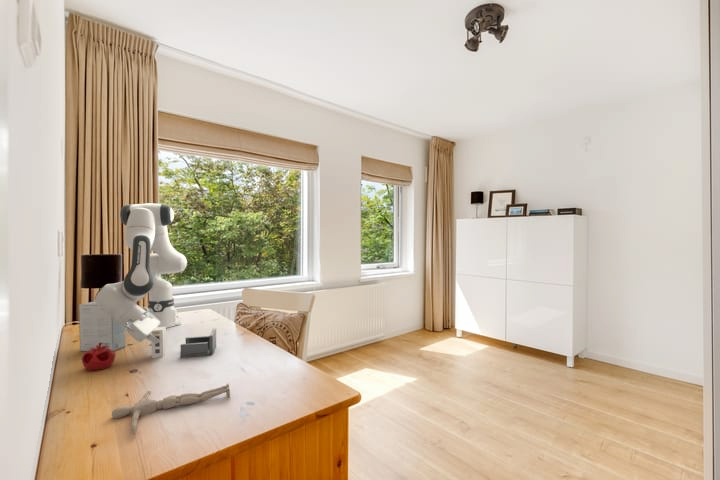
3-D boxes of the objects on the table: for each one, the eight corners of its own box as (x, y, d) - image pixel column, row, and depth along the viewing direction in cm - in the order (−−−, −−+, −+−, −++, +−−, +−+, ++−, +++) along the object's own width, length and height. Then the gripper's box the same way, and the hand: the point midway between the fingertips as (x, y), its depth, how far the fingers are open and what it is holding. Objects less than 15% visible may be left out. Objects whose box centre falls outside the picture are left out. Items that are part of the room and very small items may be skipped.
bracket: (186, 348, 151) (186, 330, 151) (216, 346, 154) (216, 328, 154) (180, 357, 140) (180, 337, 140) (212, 354, 143) (212, 335, 143)
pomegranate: (90, 364, 134) (89, 340, 134) (120, 361, 137) (119, 337, 137) (76, 374, 125) (75, 348, 125) (108, 370, 127) (108, 345, 127)
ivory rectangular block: (155, 353, 145) (155, 327, 145) (166, 352, 146) (166, 326, 146) (151, 358, 140) (151, 330, 140) (163, 357, 141) (162, 329, 141)
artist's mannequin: (227, 381, 120) (123, 402, 108) (226, 369, 120) (122, 388, 108) (233, 419, 95) (97, 451, 82) (232, 403, 94) (96, 432, 82)
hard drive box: (126, 346, 155) (125, 301, 154) (112, 352, 147) (111, 305, 147) (94, 345, 156) (93, 300, 156) (78, 351, 149) (77, 304, 148)
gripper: (129, 317, 131) (159, 341, 134) (147, 306, 151) (172, 327, 153) (116, 330, 130) (146, 354, 133) (135, 317, 150) (161, 338, 152)
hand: (160, 339), depth 143 cm, fingers closed on ivory rectangular block, 5 cm apart
